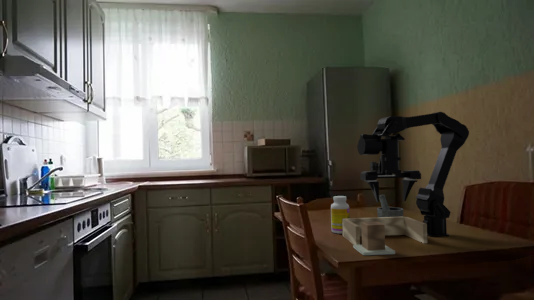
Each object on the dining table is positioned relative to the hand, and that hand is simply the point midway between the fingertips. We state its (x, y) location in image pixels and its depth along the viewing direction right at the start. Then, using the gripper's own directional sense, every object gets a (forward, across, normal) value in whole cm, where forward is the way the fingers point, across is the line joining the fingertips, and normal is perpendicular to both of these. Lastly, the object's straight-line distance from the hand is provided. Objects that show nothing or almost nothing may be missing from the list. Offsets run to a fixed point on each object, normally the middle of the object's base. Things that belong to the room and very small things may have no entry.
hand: (391, 201), depth 123 cm
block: (+11, +12, +15) cm, 22 cm away
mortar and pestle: (+12, -7, -19) cm, 24 cm away
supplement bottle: (+12, +14, -12) cm, 22 cm away
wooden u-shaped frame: (+12, +4, +3) cm, 13 cm away
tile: (+12, +12, +15) cm, 23 cm away
